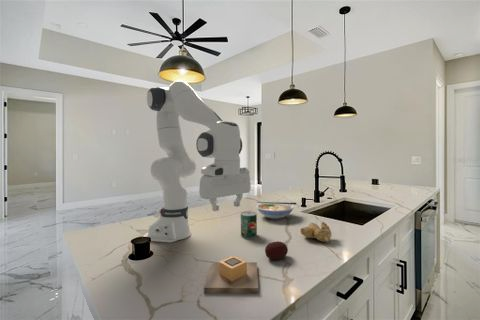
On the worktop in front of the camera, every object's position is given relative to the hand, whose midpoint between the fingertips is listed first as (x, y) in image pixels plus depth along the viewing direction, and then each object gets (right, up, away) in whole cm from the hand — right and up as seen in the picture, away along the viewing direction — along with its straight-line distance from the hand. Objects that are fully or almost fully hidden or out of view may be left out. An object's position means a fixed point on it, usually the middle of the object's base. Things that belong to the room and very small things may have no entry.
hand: (226, 208), depth 82 cm
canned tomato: (+9, -21, +34) cm, 41 cm away
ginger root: (+41, -20, +29) cm, 54 cm away
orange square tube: (+2, -21, -5) cm, 21 cm away
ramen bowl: (+26, -19, +64) cm, 72 cm away
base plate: (+2, -22, -5) cm, 23 cm away
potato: (+19, -21, +10) cm, 30 cm away
